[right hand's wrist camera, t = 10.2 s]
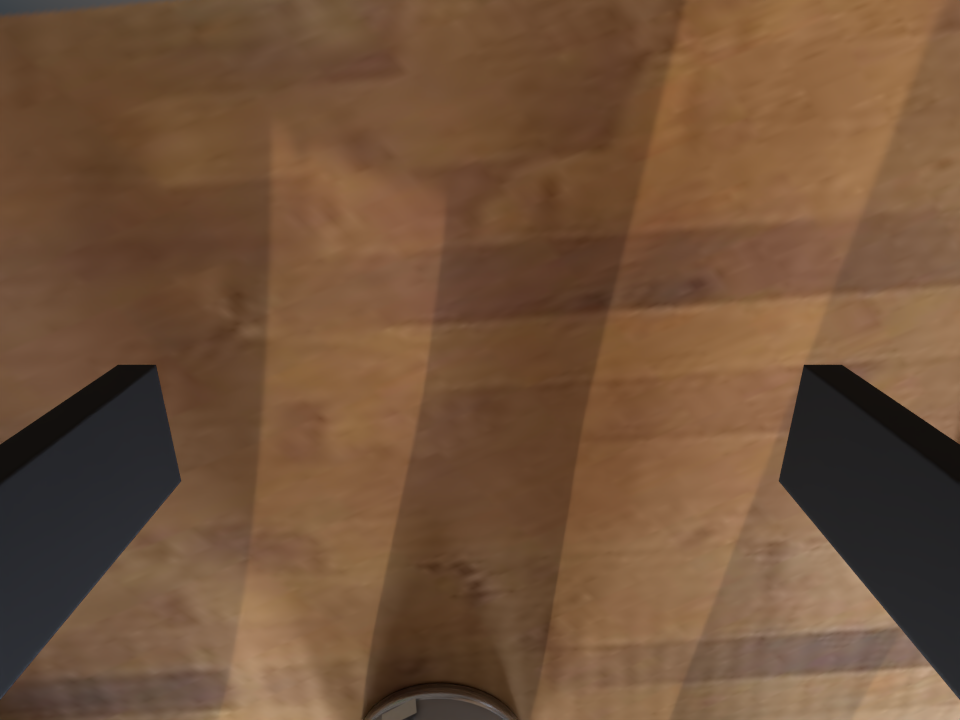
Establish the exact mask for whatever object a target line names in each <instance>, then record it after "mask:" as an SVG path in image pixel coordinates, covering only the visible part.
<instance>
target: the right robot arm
mask: <svg viewBox="0 0 960 720" xmlns="http://www.w3.org/2000/svg"><path fill="white" fill-rule="evenodd" d="M180 482H181V478H180V474H179V469H178V464H177V460H176V455H175V451H174V446H173V441H172V437H171V432H170V427H169V423H168V418H167V414H166V409H165V404H164V400H163V395H162V391H161V386H160V381H159V377H158V372H157V368H156V365H117V366H116V367H114V368H113V369H111V370H110V371H108V372H107V373H105V374H104V375H102V376H101V377H99V378H98V379H97V380H95V381H94V382H92V383H91V384H89V385H88V386H86V387H85V388H83V389H82V390H80V391H79V392H77V393H76V394H74V395H73V396H71V397H70V398H68V399H67V400H65V401H64V402H63V403H61V404H60V405H58V406H57V407H55V408H54V409H52V410H51V411H49V412H48V413H46V414H45V415H43V416H42V417H40V418H39V419H37V420H36V421H34V422H33V423H32V424H30V425H29V426H27V427H26V428H24V429H23V430H21V431H20V432H18V433H17V434H15V435H14V436H12V437H11V438H9V439H8V440H6V441H5V442H3V443H2V444H0V699H1V698H2V697H3V696H4V695H5V693H6V692H7V691H8V690H9V688H10V687H11V686H12V685H13V684H14V682H15V681H16V680H17V679H18V678H19V676H20V675H21V674H22V673H23V672H24V670H25V669H26V668H27V667H28V666H29V664H30V663H31V662H32V661H33V659H34V658H35V657H36V656H37V655H38V653H39V652H40V651H41V650H42V649H43V647H44V646H45V645H46V644H47V643H48V641H49V640H50V639H51V638H52V637H53V635H54V634H55V633H56V632H57V630H58V629H59V628H60V627H61V626H62V624H63V623H64V622H65V621H66V620H67V618H68V617H69V616H70V615H71V614H72V612H73V611H74V610H75V609H76V608H77V606H78V605H79V604H80V603H81V601H82V600H83V599H84V598H85V597H86V595H87V594H88V593H89V592H90V591H91V589H92V588H93V587H94V586H95V585H96V583H97V582H98V581H99V580H100V579H101V577H102V576H103V575H104V574H105V572H106V571H107V570H108V569H109V568H110V566H111V565H112V564H113V563H114V562H115V560H116V559H117V558H118V557H119V556H120V554H121V553H122V552H123V551H124V550H125V548H126V547H127V546H128V545H129V543H130V542H131V541H132V540H133V539H134V537H135V536H136V535H137V534H138V533H139V531H140V530H141V529H142V528H143V527H144V525H145V524H146V523H147V522H148V521H149V519H150V518H151V517H152V516H153V514H154V513H155V512H156V511H157V510H158V508H159V507H160V506H161V505H162V504H163V502H164V501H165V500H166V499H167V498H168V496H169V495H170V494H171V493H172V492H173V490H174V489H175V488H176V487H177V485H178V484H179V483H180ZM779 482H780V483H781V484H782V485H783V487H784V488H785V489H786V490H787V492H788V493H789V494H790V495H791V496H792V498H793V499H794V500H795V501H796V502H797V504H798V505H799V506H800V507H801V508H802V510H803V511H804V512H805V513H806V514H807V516H808V517H809V518H810V519H811V521H812V522H813V523H814V524H815V525H816V527H817V528H818V529H819V530H820V531H821V533H822V534H823V535H824V536H825V537H826V539H827V540H828V541H829V542H830V543H831V545H832V546H833V547H834V548H835V550H836V551H837V552H838V553H839V554H840V556H841V557H842V558H843V559H844V560H845V562H846V563H847V564H848V565H849V566H850V568H851V569H852V570H853V571H854V572H855V574H856V575H857V576H858V577H859V579H860V580H861V581H862V582H863V583H864V585H865V586H866V587H867V588H868V589H869V591H870V592H871V593H872V594H873V595H874V597H875V598H876V599H877V600H878V601H879V603H880V604H881V605H882V606H883V608H884V609H885V610H886V611H887V612H888V614H889V615H890V616H891V617H892V618H893V620H894V621H895V622H896V623H897V624H898V626H899V627H900V628H901V629H902V630H903V632H904V633H905V634H906V635H907V637H908V638H909V639H910V640H911V641H912V643H913V644H914V645H915V646H916V647H917V649H918V650H919V651H920V652H921V653H922V655H923V656H924V657H925V658H926V659H927V661H928V662H929V663H930V664H931V666H932V667H933V668H934V669H935V670H936V672H937V673H938V674H939V675H940V676H941V678H942V679H943V680H944V681H945V682H946V684H947V685H948V686H949V687H950V688H951V690H952V691H953V692H954V693H955V695H956V696H957V697H958V698H959V699H960V444H958V443H957V442H955V441H954V440H952V439H951V438H949V437H948V436H946V435H945V434H943V433H942V432H940V431H939V430H937V429H936V428H934V427H933V426H931V425H930V424H928V423H927V422H926V421H924V420H923V419H921V418H920V417H918V416H917V415H915V414H914V413H912V412H911V411H909V410H908V409H906V408H905V407H903V406H902V405H900V404H899V403H897V402H896V401H895V400H893V399H892V398H890V397H889V396H887V395H886V394H884V393H883V392H881V391H880V390H878V389H877V388H875V387H874V386H872V385H871V384H869V383H868V382H866V381H865V380H863V379H862V378H861V377H859V376H858V375H856V374H855V373H853V372H852V371H850V370H849V369H847V368H846V367H844V366H843V365H804V368H803V372H802V377H801V381H800V386H799V391H798V395H797V400H796V404H795V409H794V414H793V418H792V423H791V427H790V432H789V437H788V441H787V446H786V451H785V455H784V460H783V464H782V469H781V474H780V478H779ZM364 720H517V718H516V716H515V715H514V714H513V713H512V711H511V710H510V709H509V708H508V707H507V706H505V705H504V704H503V703H502V702H500V701H499V700H497V699H496V698H494V697H492V696H491V695H489V694H486V693H484V692H482V691H479V690H477V689H473V688H470V687H466V686H461V685H455V684H442V683H440V684H424V685H418V686H413V687H409V688H406V689H403V690H400V691H398V692H395V693H393V694H391V695H389V696H387V697H386V698H384V699H383V700H381V701H380V702H379V703H377V704H376V705H375V706H374V707H373V708H372V709H371V710H370V712H369V713H368V714H367V716H366V717H365V719H364Z"/></svg>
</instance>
